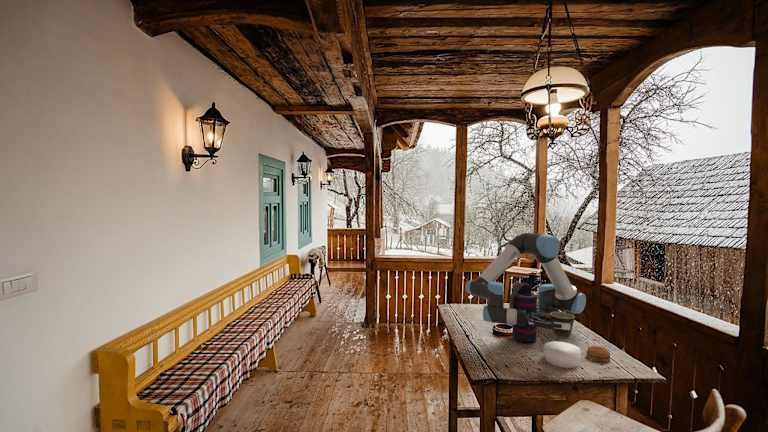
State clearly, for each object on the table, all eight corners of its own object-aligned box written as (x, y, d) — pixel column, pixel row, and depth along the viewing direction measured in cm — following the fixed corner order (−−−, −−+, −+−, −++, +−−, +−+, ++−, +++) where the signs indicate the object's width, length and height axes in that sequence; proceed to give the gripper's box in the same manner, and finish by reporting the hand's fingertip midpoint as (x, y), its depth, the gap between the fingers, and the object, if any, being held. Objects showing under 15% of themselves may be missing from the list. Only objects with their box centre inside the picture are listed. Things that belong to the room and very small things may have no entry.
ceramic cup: (566, 332, 174) (567, 311, 173) (578, 340, 164) (579, 318, 163) (539, 332, 173) (540, 311, 173) (549, 341, 163) (550, 318, 163)
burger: (614, 363, 168) (614, 352, 168) (593, 363, 168) (593, 352, 168) (602, 353, 178) (602, 344, 177) (582, 353, 178) (582, 344, 178)
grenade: (530, 335, 202) (530, 280, 201) (540, 343, 190) (541, 285, 189) (505, 335, 201) (505, 281, 200) (514, 344, 190) (515, 286, 188)
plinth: (562, 351, 180) (562, 339, 180) (588, 364, 166) (588, 351, 165) (537, 356, 175) (537, 343, 175) (562, 370, 161) (562, 356, 161)
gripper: (517, 318, 186) (567, 323, 178) (515, 332, 166) (570, 340, 157) (518, 303, 186) (567, 308, 177) (515, 316, 166) (571, 322, 157)
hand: (569, 323), depth 167 cm, fingers closed on ceramic cup, 9 cm apart
